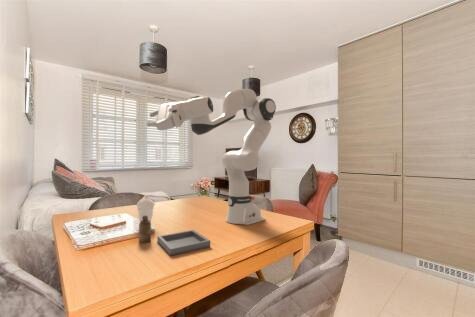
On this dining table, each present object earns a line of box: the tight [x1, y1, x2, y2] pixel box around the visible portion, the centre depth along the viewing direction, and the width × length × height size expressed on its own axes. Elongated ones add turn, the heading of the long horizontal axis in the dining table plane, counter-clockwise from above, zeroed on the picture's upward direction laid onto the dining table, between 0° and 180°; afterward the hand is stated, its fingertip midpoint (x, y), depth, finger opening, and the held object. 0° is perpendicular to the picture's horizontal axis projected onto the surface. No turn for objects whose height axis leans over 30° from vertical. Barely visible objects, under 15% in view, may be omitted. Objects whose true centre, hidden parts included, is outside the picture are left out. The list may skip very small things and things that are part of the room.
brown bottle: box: [138, 215, 152, 244], centre depth 99 cm, size 5×5×11 cm
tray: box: [156, 229, 211, 257], centre depth 96 cm, size 16×16×2 cm
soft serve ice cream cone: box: [136, 194, 156, 223], centre depth 119 cm, size 8×8×16 cm
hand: (148, 119), depth 110 cm, fingers open, 8 cm apart
